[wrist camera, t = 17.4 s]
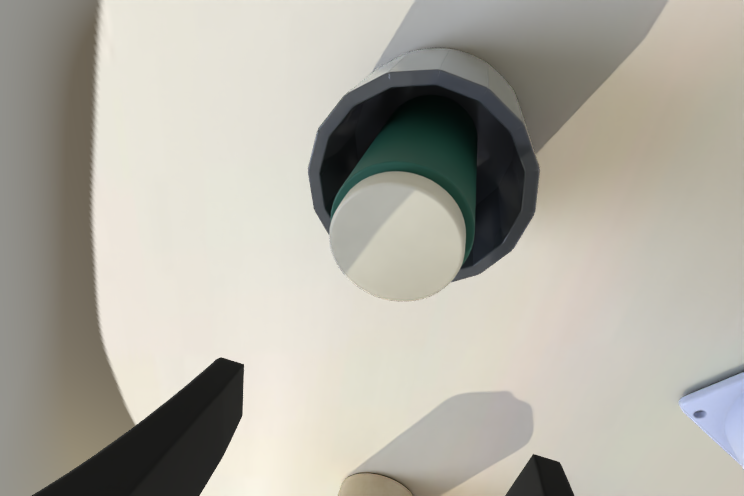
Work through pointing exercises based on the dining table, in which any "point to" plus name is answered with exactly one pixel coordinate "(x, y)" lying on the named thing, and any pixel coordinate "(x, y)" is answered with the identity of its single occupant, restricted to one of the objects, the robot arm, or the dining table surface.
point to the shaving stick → (409, 203)
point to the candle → (372, 486)
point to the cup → (494, 136)
